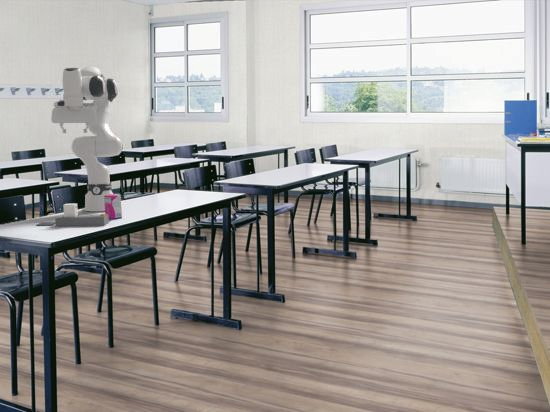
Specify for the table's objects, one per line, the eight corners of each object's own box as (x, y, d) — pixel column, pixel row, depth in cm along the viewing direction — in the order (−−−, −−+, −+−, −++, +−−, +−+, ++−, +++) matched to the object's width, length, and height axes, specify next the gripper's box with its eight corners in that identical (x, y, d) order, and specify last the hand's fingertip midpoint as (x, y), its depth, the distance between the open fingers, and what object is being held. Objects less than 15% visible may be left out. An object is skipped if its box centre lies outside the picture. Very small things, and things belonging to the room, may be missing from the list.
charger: (67, 218, 302) (66, 203, 301) (78, 218, 302) (77, 203, 301) (64, 220, 298) (63, 204, 297) (75, 220, 298) (74, 204, 297)
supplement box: (114, 217, 322) (113, 193, 321) (122, 218, 319) (121, 194, 317) (104, 218, 318) (103, 195, 316) (112, 219, 314) (111, 195, 313)
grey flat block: (66, 220, 312) (65, 210, 312) (112, 220, 312) (112, 210, 312) (55, 226, 296) (54, 215, 296) (104, 225, 296) (103, 215, 296)
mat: (41, 223, 306) (41, 222, 306) (56, 223, 306) (56, 222, 306) (36, 225, 299) (36, 224, 299) (51, 225, 299) (51, 224, 299)
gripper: (95, 103, 312) (96, 132, 314) (50, 103, 304) (51, 133, 306) (97, 102, 307) (98, 132, 308) (51, 102, 299) (53, 133, 300)
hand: (75, 132), depth 307 cm, fingers open, 8 cm apart
